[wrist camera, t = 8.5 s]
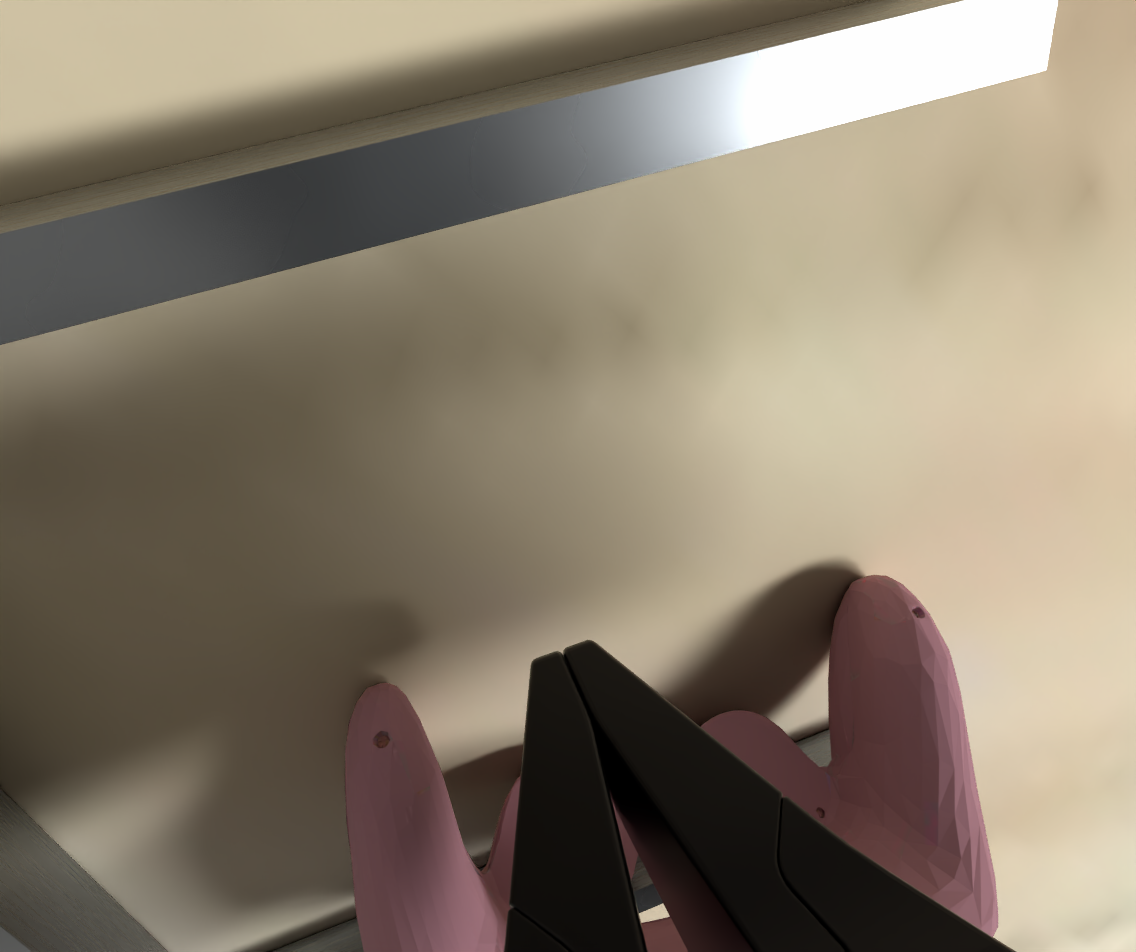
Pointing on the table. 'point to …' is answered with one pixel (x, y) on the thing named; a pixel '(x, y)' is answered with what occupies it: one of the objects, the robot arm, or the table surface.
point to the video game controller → (830, 794)
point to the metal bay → (439, 200)
